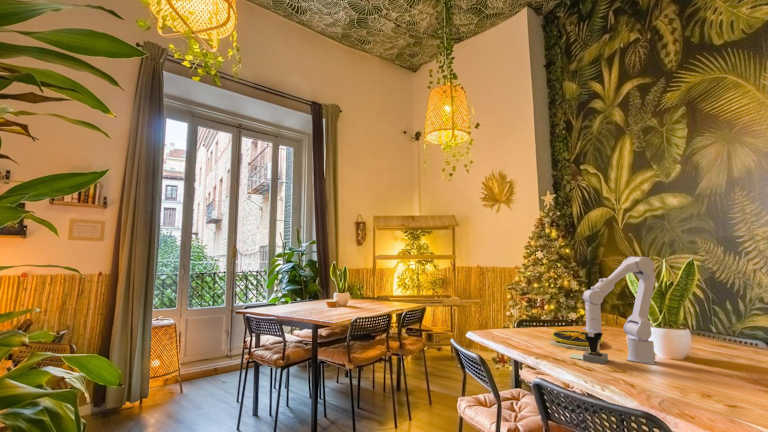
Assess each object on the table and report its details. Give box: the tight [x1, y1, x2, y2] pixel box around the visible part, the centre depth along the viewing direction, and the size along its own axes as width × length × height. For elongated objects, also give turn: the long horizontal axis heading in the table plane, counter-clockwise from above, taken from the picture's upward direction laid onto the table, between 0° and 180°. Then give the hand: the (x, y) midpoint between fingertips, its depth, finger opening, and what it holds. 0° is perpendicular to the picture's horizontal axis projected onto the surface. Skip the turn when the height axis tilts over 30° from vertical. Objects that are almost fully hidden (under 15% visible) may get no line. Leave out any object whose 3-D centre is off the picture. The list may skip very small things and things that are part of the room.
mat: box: [568, 353, 583, 361], centre depth 168 cm, size 5×7×1 cm
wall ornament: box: [549, 329, 604, 352], centre depth 194 cm, size 23×5×30 cm
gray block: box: [582, 351, 609, 365], centre depth 164 cm, size 8×9×2 cm
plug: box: [589, 340, 601, 356], centre depth 165 cm, size 4×4×8 cm
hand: (594, 350), depth 165 cm, fingers closed on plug, 4 cm apart
